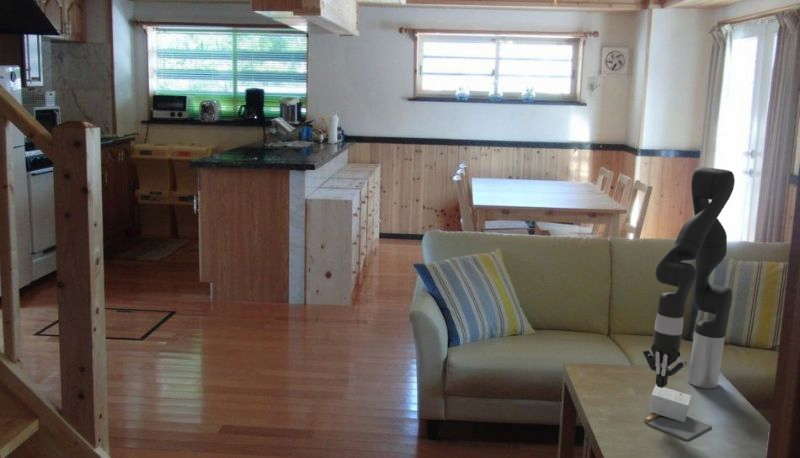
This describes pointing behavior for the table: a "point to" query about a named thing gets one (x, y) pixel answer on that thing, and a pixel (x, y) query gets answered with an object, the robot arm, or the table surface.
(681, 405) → the small box
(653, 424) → the rubber mat
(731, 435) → the table surface
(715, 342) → the robot arm
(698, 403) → the table surface
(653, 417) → the oak ledge
